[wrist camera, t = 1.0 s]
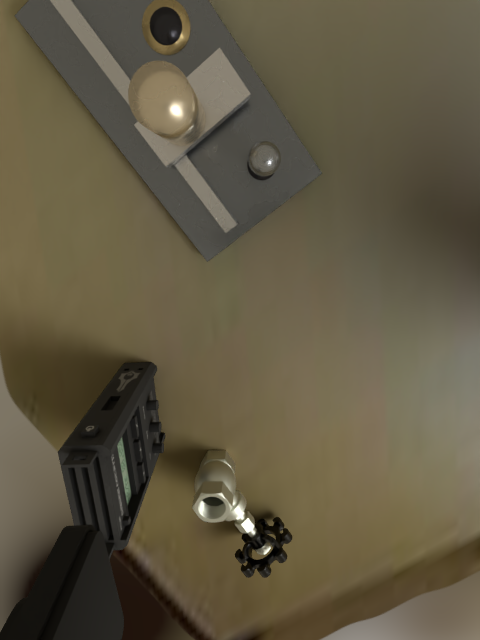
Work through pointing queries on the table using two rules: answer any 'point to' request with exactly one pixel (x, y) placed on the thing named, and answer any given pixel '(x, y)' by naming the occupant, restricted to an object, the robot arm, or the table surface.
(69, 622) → the robot arm
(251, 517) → the valve
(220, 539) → the table surface
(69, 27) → the plate
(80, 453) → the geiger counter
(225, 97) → the sliding carriage with knob
